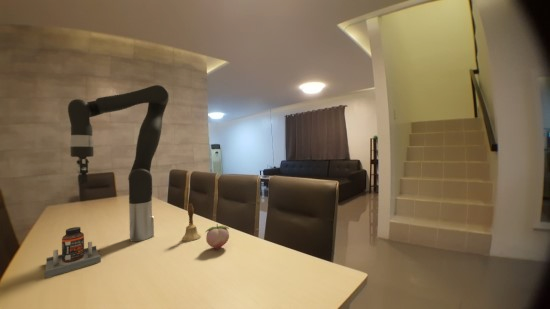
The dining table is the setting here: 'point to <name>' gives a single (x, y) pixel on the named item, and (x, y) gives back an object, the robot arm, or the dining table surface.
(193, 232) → the hand bell
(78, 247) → the supplement bottle
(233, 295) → the dining table surface
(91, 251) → the pin tray
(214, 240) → the decorative fruit
